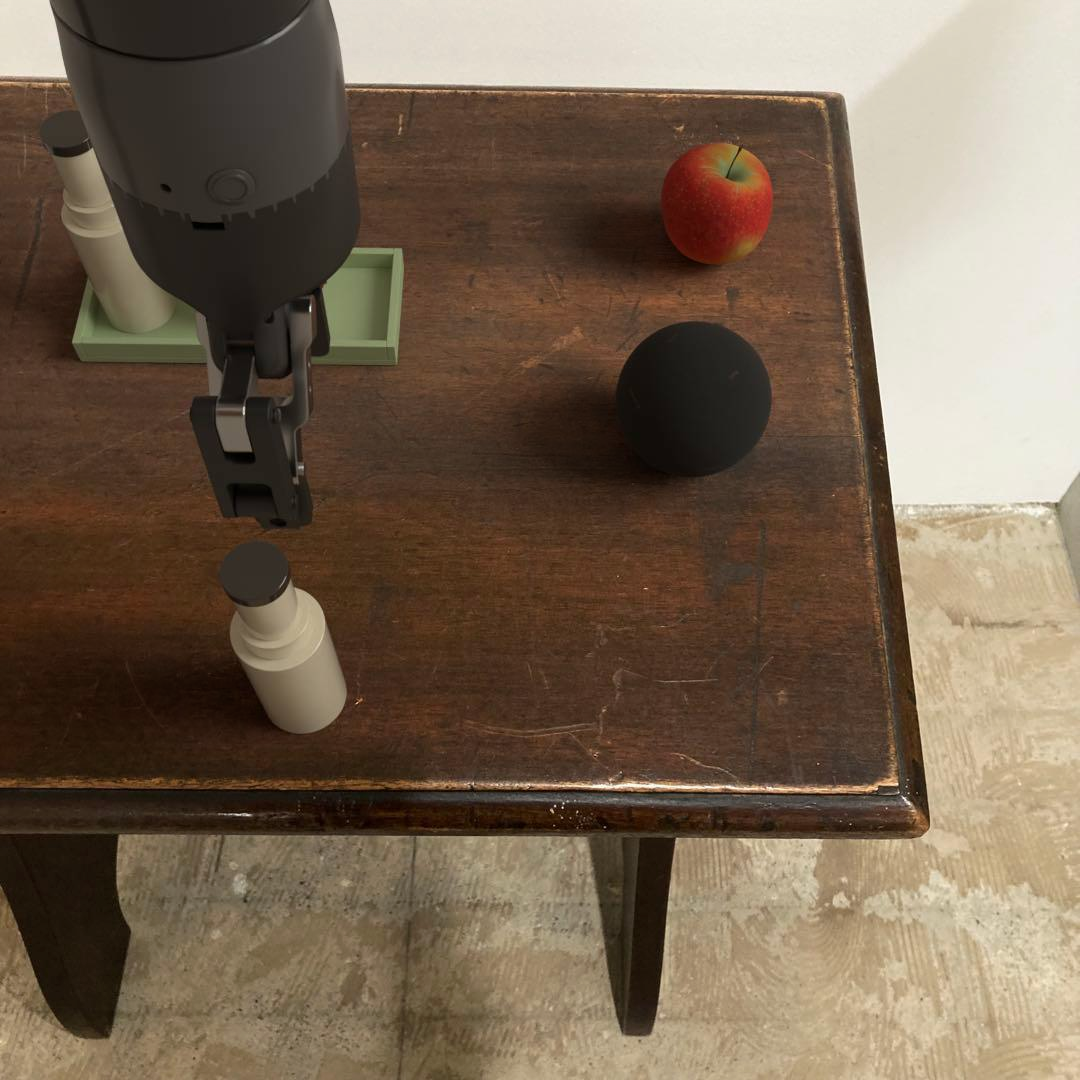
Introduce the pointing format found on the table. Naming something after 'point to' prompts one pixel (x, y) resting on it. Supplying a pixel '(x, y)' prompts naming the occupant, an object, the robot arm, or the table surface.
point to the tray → (355, 339)
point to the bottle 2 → (282, 640)
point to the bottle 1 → (101, 231)
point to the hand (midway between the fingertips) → (296, 431)
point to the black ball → (693, 399)
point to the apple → (716, 203)
